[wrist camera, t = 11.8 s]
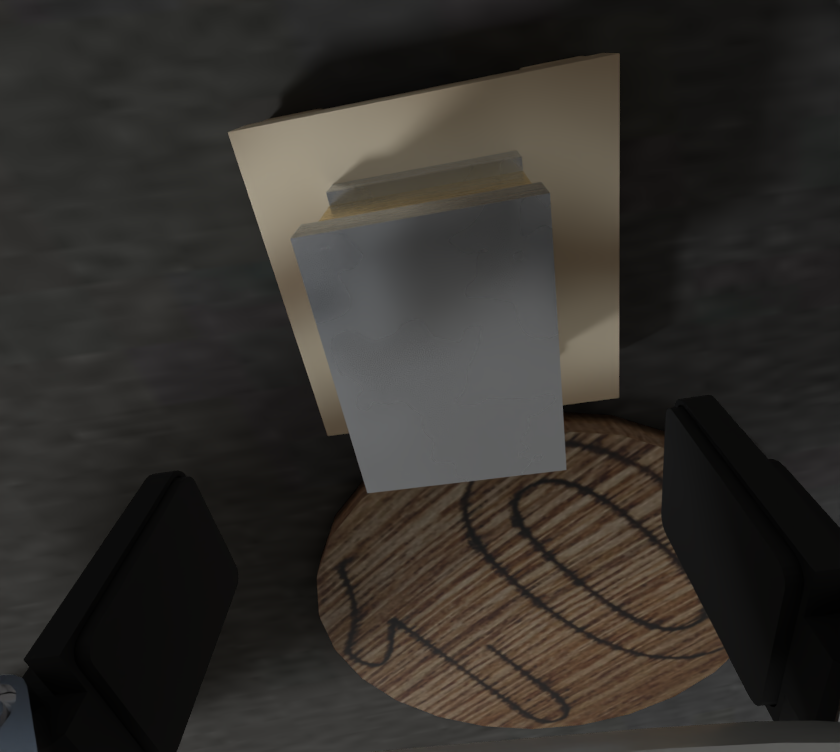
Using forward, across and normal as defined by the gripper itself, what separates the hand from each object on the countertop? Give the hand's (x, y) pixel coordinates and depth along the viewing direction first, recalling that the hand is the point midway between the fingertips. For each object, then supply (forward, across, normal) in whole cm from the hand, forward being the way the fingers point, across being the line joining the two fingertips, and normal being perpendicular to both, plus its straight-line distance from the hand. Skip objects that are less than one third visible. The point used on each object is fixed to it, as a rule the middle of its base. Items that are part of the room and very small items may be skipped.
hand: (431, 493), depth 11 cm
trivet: (+14, -3, +20) cm, 25 cm away
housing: (+10, -1, 0) cm, 10 cm away
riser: (+13, -1, -1) cm, 13 cm away
